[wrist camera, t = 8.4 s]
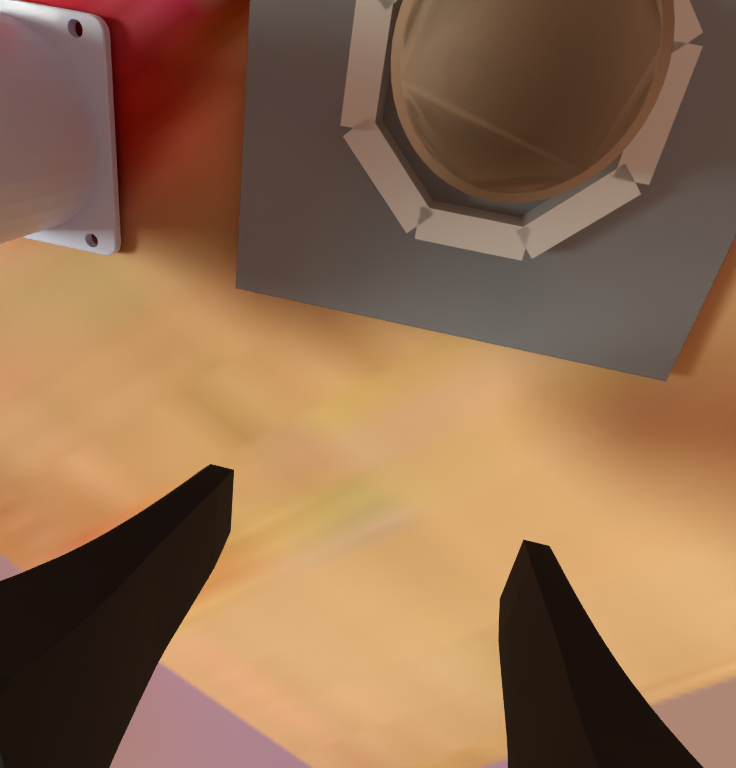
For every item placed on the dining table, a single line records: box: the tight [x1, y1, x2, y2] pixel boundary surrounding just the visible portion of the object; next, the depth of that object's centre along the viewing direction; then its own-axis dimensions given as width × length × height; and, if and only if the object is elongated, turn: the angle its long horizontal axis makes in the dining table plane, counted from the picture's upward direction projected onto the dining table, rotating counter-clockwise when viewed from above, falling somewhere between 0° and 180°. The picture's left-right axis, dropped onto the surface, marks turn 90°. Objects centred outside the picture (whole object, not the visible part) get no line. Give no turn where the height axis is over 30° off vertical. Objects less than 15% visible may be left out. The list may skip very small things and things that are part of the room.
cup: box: [391, 0, 675, 203], centre depth 14 cm, size 5×5×6 cm
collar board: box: [236, 0, 736, 381], centre depth 16 cm, size 16×16×2 cm
